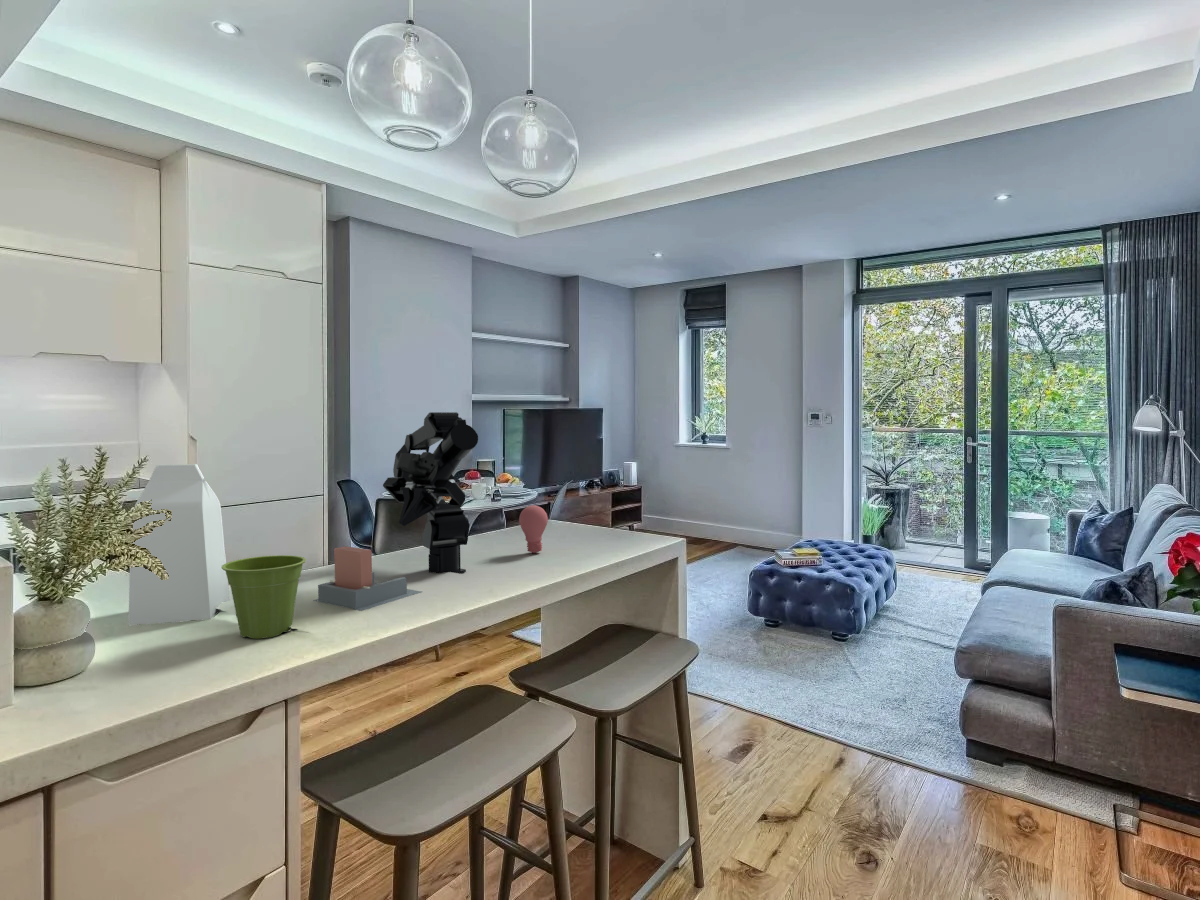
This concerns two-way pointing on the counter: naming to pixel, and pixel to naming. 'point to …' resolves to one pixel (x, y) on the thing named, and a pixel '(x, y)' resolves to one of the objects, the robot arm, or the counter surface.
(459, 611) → the counter surface
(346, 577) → the upright terracotta block
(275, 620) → the plant pot
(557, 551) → the counter surface
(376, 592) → the dock
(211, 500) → the milk
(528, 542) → the light bulb
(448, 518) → the robot arm
